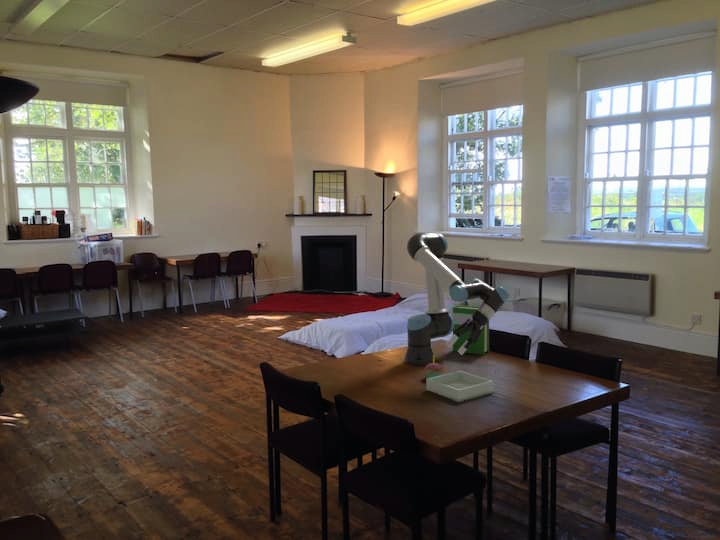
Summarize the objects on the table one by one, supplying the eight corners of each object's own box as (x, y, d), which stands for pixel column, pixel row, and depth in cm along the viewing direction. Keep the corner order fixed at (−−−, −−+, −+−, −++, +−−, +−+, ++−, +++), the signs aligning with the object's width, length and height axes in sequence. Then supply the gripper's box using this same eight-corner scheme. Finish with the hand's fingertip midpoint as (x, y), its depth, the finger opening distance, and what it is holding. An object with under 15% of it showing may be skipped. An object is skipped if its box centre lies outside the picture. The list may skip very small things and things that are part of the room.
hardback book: (488, 351, 327) (489, 307, 324) (484, 354, 320) (484, 309, 318) (458, 347, 336) (458, 305, 333) (452, 350, 330) (452, 307, 327)
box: (426, 390, 264) (426, 378, 263) (460, 381, 275) (460, 370, 274) (458, 402, 247) (458, 390, 247) (493, 392, 259) (493, 381, 258)
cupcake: (443, 381, 276) (443, 355, 274) (424, 380, 277) (424, 355, 276) (443, 375, 284) (443, 350, 283) (425, 375, 286) (425, 350, 284)
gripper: (501, 325, 272) (470, 361, 270) (476, 315, 296) (448, 348, 294) (490, 314, 270) (459, 350, 268) (466, 305, 294) (437, 338, 292)
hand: (453, 349), depth 281 cm, fingers open, 13 cm apart
